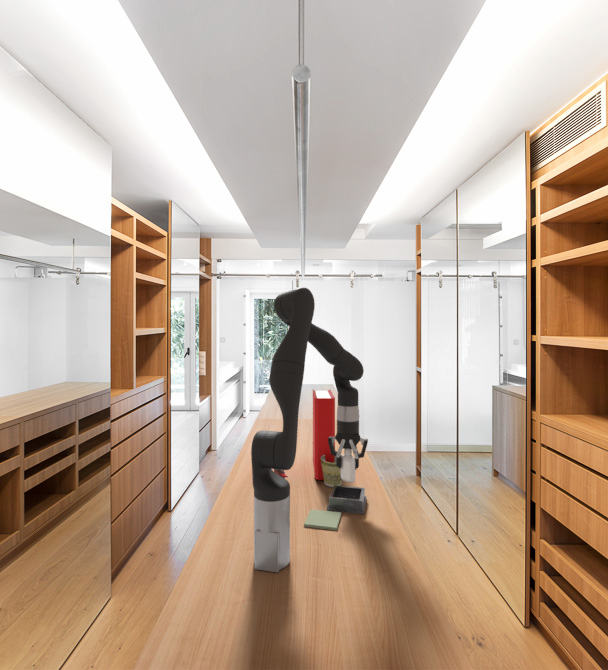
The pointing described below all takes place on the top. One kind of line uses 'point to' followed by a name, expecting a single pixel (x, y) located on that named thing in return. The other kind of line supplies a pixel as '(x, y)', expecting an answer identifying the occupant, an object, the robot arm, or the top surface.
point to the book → (322, 429)
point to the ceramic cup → (331, 472)
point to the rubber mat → (323, 519)
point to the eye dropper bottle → (348, 466)
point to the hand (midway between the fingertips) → (347, 468)
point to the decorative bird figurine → (280, 473)
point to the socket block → (347, 499)
